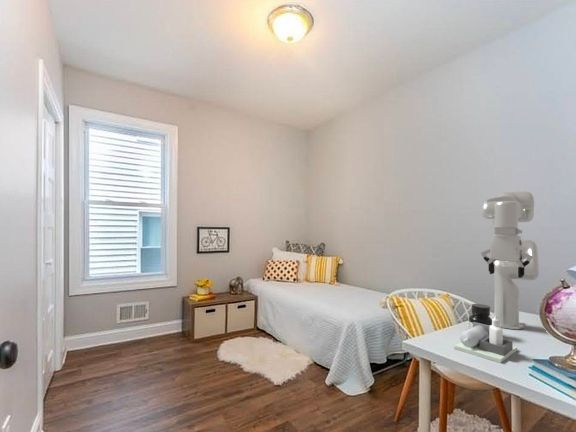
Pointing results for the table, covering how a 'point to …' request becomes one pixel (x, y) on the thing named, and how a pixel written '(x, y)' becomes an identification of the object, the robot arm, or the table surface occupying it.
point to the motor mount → (484, 344)
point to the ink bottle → (480, 315)
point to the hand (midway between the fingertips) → (505, 275)
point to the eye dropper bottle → (495, 332)
